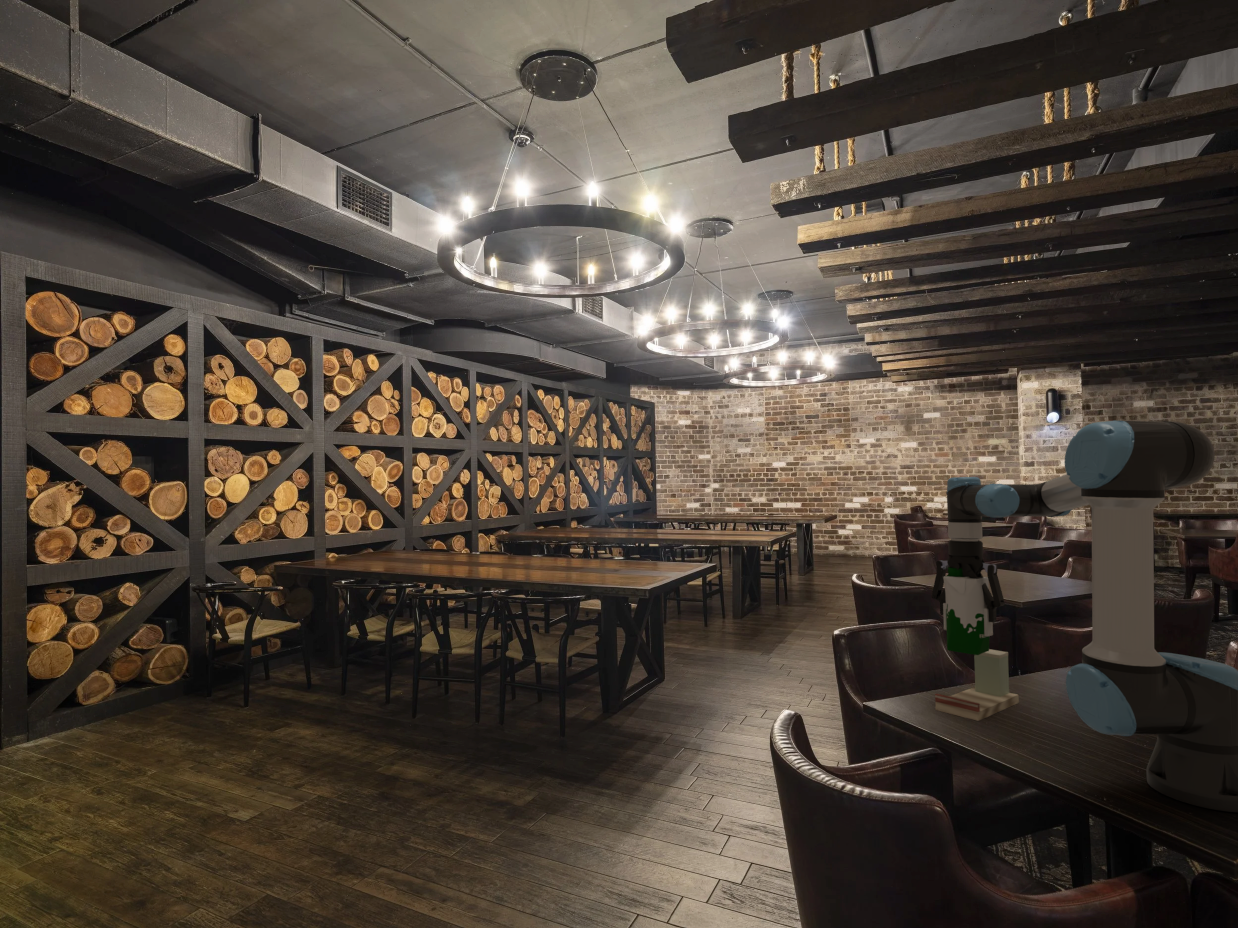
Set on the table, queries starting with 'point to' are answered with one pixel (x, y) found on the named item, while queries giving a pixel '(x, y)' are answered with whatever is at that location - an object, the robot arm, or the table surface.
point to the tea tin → (992, 673)
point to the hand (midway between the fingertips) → (967, 632)
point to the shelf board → (974, 703)
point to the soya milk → (965, 613)
